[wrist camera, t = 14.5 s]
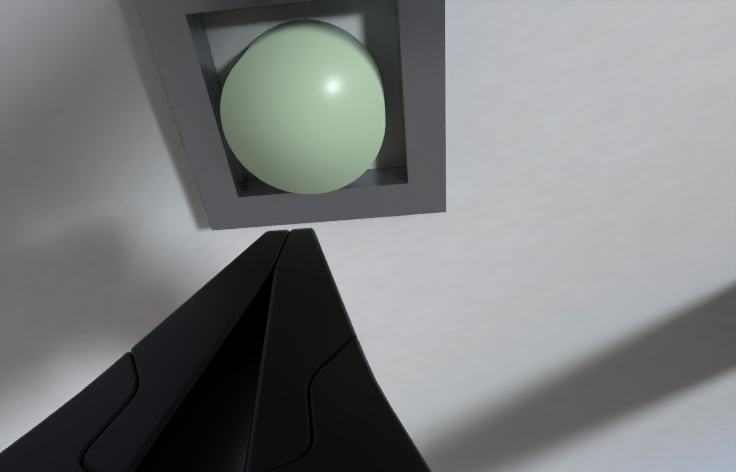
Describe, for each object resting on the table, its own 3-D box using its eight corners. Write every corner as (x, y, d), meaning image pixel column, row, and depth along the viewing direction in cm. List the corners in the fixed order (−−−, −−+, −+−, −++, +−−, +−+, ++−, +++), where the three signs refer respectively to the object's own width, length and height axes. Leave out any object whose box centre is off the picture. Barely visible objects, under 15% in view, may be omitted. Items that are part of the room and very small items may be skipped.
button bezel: (438, -72, 16) (444, -69, 15) (441, 193, 22) (445, 211, 20) (142, -38, 16) (123, -33, 15) (221, 211, 22) (212, 230, 21)
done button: (377, 11, 17) (378, 27, 15) (389, 157, 20) (390, 187, 18) (219, 28, 17) (198, 45, 15) (255, 169, 20) (242, 199, 18)
